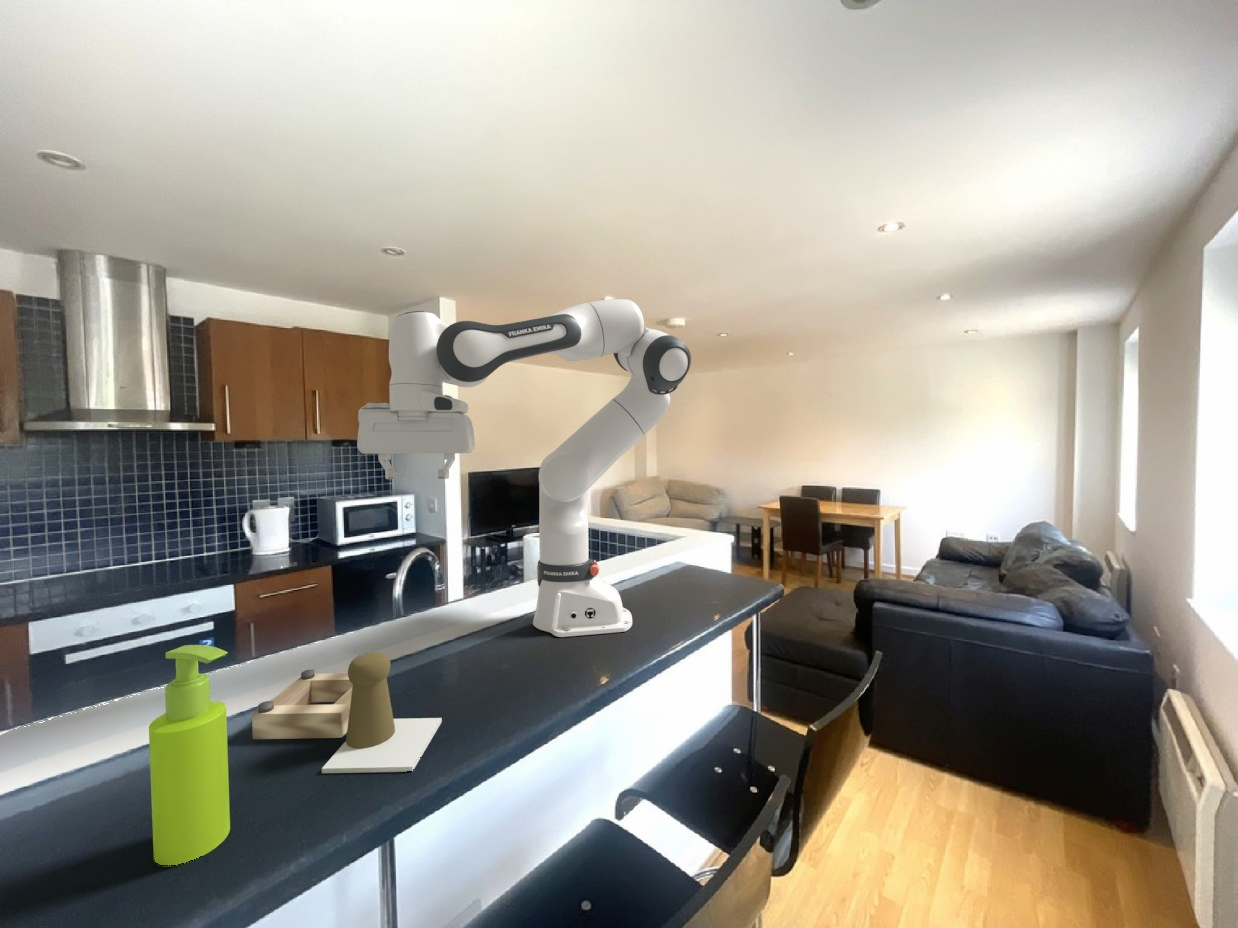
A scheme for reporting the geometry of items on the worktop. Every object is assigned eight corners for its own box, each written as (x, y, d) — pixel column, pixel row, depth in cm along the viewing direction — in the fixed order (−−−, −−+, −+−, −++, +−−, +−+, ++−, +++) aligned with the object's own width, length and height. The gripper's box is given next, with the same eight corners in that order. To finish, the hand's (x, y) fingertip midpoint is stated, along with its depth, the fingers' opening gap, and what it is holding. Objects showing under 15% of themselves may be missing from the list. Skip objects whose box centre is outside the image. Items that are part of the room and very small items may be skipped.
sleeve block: (380, 693, 81) (380, 667, 80) (341, 737, 69) (340, 706, 68) (305, 695, 80) (304, 668, 80) (252, 739, 68) (251, 708, 68)
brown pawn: (335, 747, 65) (333, 664, 65) (363, 721, 71) (361, 646, 71) (379, 749, 65) (377, 666, 64) (403, 723, 71) (402, 647, 70)
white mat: (441, 721, 72) (441, 717, 72) (412, 771, 61) (412, 766, 61) (365, 723, 72) (364, 719, 72) (321, 773, 61) (321, 768, 61)
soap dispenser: (195, 873, 47) (187, 663, 46) (137, 860, 48) (129, 657, 47) (252, 826, 53) (246, 639, 52) (199, 816, 54) (193, 634, 53)
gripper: (349, 401, 87) (351, 480, 88) (467, 401, 88) (468, 479, 88) (366, 404, 93) (368, 477, 94) (476, 404, 94) (477, 477, 95)
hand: (417, 478), depth 91 cm, fingers open, 8 cm apart
